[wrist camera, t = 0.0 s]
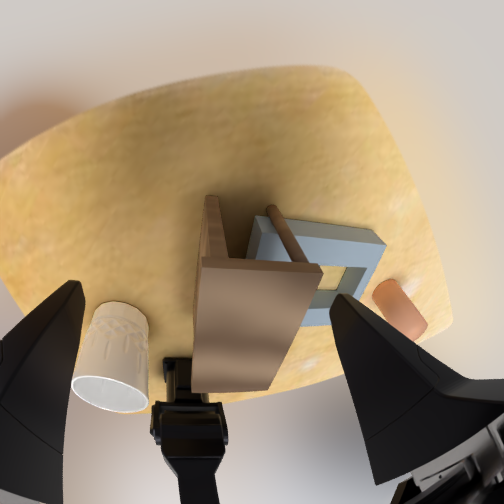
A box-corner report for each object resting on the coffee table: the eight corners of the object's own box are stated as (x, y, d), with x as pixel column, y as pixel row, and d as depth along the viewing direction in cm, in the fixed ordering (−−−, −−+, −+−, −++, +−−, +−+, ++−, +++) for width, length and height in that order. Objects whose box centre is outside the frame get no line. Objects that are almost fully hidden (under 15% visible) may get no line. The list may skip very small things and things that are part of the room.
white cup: (80, 297, 25) (56, 372, 17) (145, 295, 27) (135, 378, 19) (102, 341, 30) (91, 409, 22) (159, 341, 31) (157, 413, 23)
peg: (388, 301, 35) (416, 342, 29) (367, 302, 34) (395, 346, 28) (401, 279, 33) (432, 320, 26) (380, 279, 32) (413, 323, 25)
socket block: (336, 306, 33) (345, 323, 31) (234, 307, 30) (238, 327, 27) (372, 230, 27) (386, 245, 25) (255, 215, 24) (262, 232, 21)
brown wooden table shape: (249, 316, 31) (267, 390, 23) (188, 314, 29) (191, 392, 21) (280, 203, 24) (323, 273, 16) (199, 194, 22) (201, 267, 14)
